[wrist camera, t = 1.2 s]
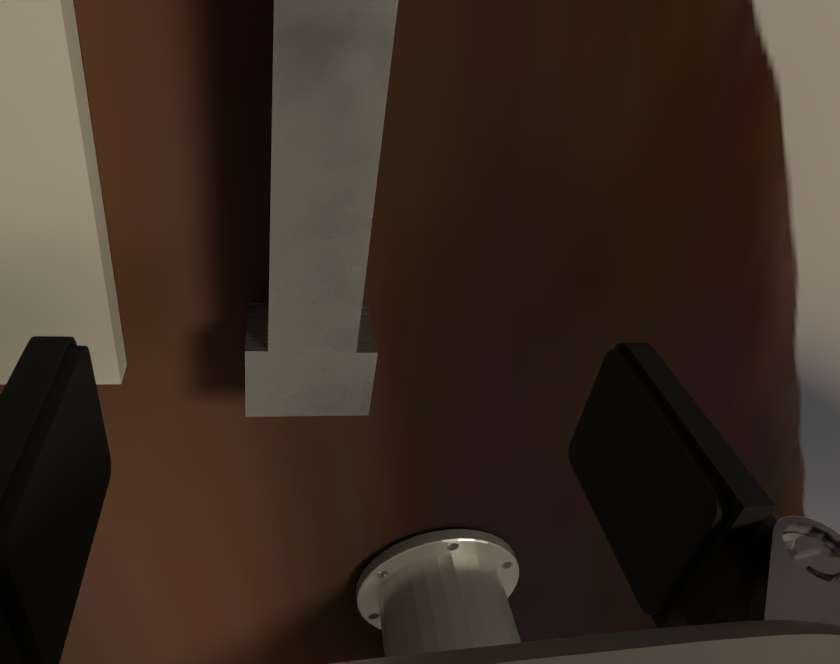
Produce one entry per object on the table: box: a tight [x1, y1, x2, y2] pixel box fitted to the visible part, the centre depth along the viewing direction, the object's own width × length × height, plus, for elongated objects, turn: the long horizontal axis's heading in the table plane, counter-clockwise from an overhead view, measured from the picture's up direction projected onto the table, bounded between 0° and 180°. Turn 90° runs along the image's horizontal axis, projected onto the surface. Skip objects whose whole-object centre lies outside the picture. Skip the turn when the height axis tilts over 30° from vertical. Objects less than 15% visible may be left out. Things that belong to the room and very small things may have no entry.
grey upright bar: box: [245, 0, 398, 417], centre depth 25 cm, size 28×6×4 cm, turn 171°
